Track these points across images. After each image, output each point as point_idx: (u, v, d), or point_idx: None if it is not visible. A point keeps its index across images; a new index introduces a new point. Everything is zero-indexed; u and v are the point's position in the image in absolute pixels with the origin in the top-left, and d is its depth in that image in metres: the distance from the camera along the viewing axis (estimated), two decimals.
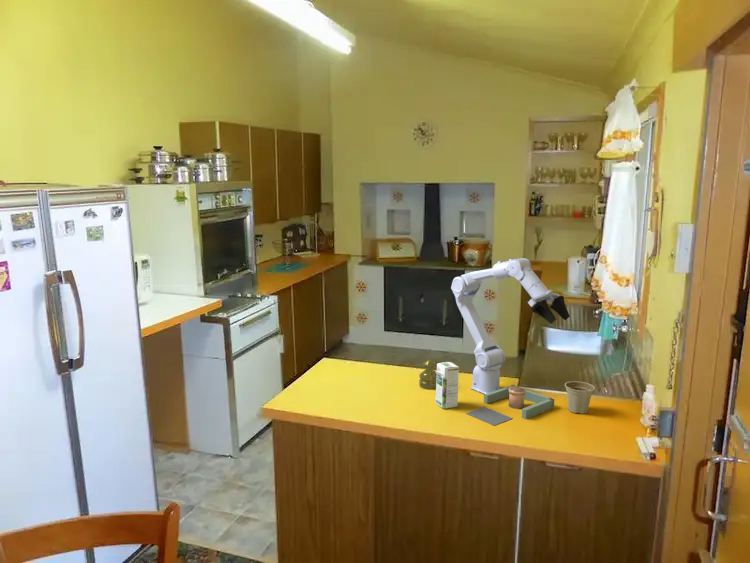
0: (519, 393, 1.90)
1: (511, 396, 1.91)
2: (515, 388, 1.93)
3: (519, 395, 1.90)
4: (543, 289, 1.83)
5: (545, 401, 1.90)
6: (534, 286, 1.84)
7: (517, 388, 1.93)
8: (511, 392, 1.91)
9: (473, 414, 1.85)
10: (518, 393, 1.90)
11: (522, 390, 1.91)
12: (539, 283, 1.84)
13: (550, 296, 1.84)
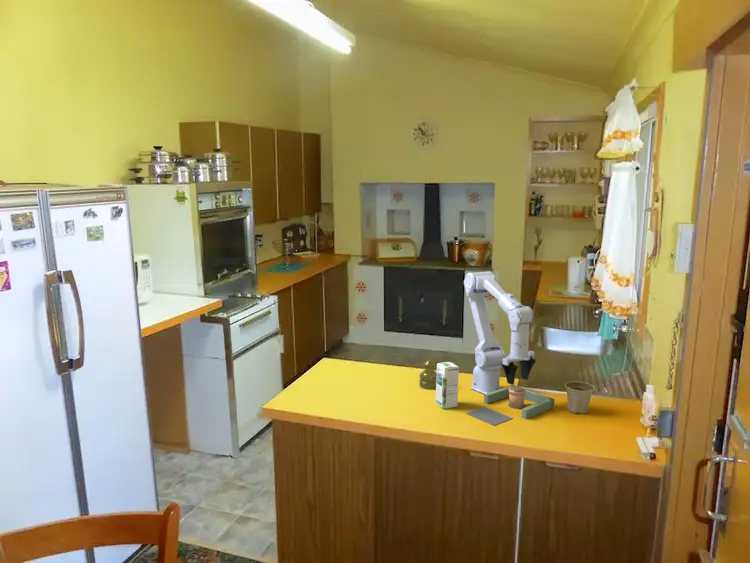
0: (519, 393, 1.90)
1: (511, 396, 1.91)
2: (515, 388, 1.93)
3: (519, 395, 1.90)
4: (524, 353, 1.87)
5: (545, 401, 1.90)
6: (518, 346, 1.87)
7: (517, 388, 1.93)
8: (511, 392, 1.91)
9: (473, 414, 1.85)
10: (518, 393, 1.90)
11: (522, 390, 1.91)
12: (524, 346, 1.87)
13: None
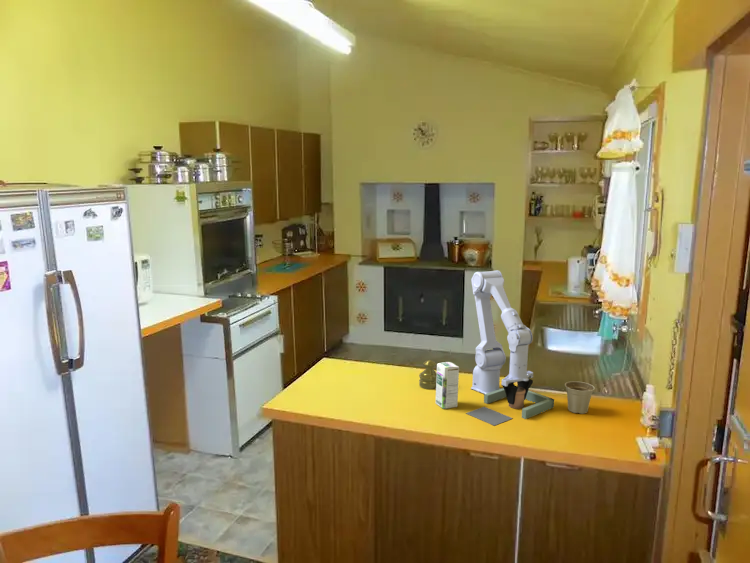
0: (519, 393, 1.90)
1: None
2: None
3: (519, 395, 1.90)
4: (522, 373, 1.89)
5: (545, 401, 1.90)
6: (517, 367, 1.88)
7: None
8: None
9: (473, 414, 1.85)
10: (518, 393, 1.90)
11: (522, 390, 1.91)
12: (523, 366, 1.88)
13: None
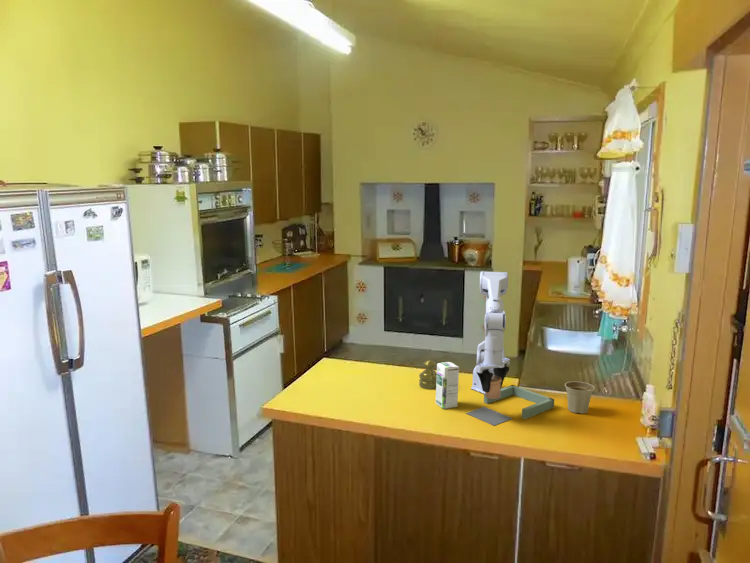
0: (494, 382, 1.80)
1: None
2: None
3: (495, 385, 1.81)
4: (498, 360, 1.79)
5: (545, 401, 1.90)
6: (492, 353, 1.79)
7: (493, 377, 1.83)
8: None
9: (473, 414, 1.85)
10: (493, 382, 1.80)
11: (498, 379, 1.82)
12: (499, 352, 1.79)
13: None
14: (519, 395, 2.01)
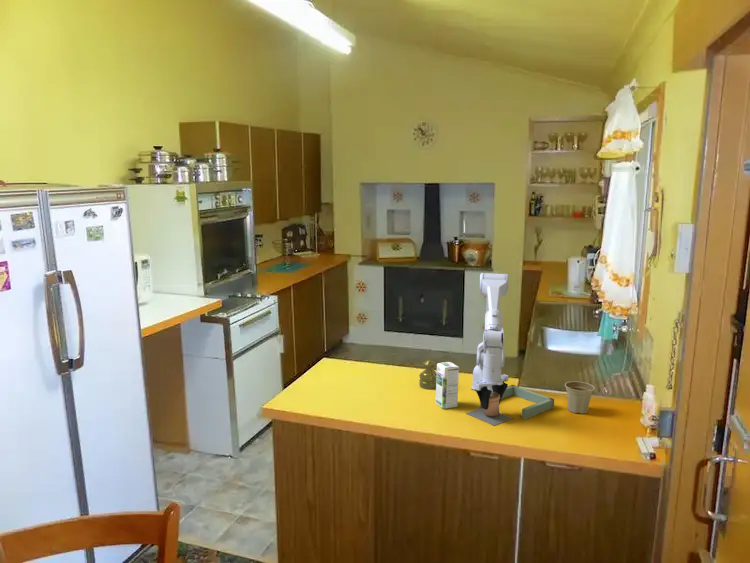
0: (493, 400, 1.81)
1: None
2: None
3: (493, 402, 1.81)
4: (496, 377, 1.80)
5: (545, 401, 1.90)
6: (491, 370, 1.80)
7: (491, 394, 1.84)
8: None
9: (473, 414, 1.85)
10: (491, 399, 1.81)
11: (496, 396, 1.82)
12: (497, 370, 1.80)
13: None
14: (519, 395, 2.01)
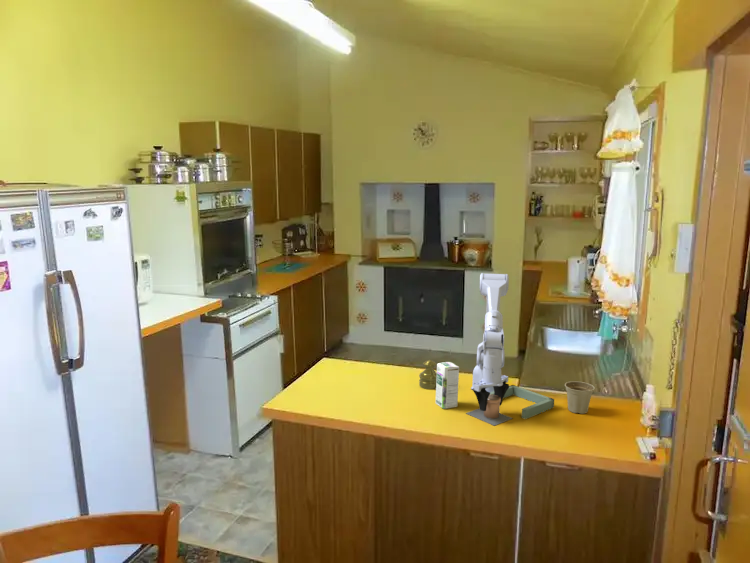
0: (494, 402, 1.81)
1: None
2: (490, 396, 1.85)
3: (494, 404, 1.82)
4: (496, 378, 1.80)
5: (545, 401, 1.90)
6: (491, 371, 1.80)
7: (492, 396, 1.85)
8: None
9: (473, 414, 1.85)
10: (492, 401, 1.81)
11: (497, 399, 1.83)
12: (497, 371, 1.80)
13: None
14: (519, 395, 2.01)
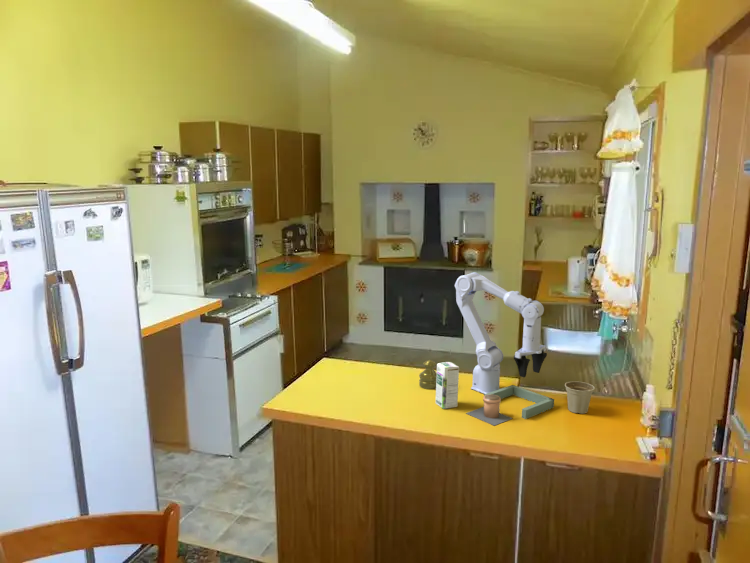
0: (494, 402, 1.81)
1: (486, 405, 1.83)
2: (490, 396, 1.85)
3: (494, 404, 1.82)
4: (536, 346, 1.93)
5: (545, 401, 1.90)
6: (530, 340, 1.92)
7: (492, 396, 1.85)
8: (485, 401, 1.83)
9: (473, 414, 1.85)
10: (492, 401, 1.81)
11: (497, 399, 1.83)
12: (536, 339, 1.92)
13: None
14: (519, 395, 2.01)
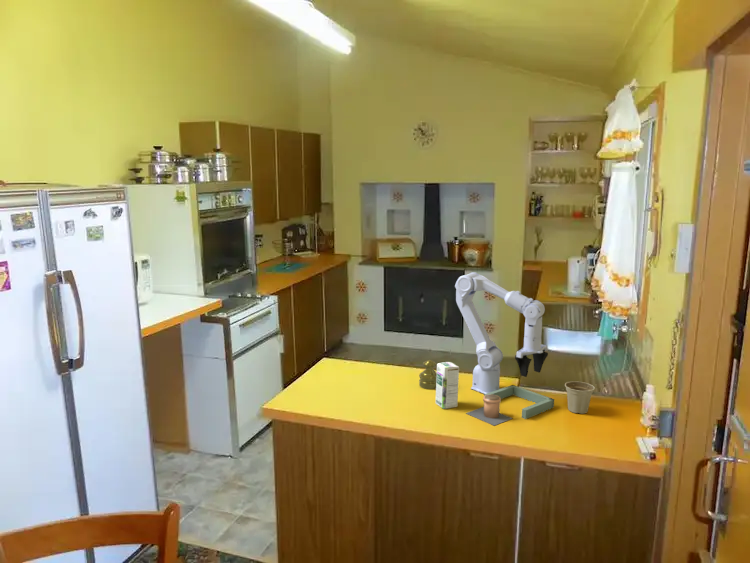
0: (494, 402, 1.81)
1: (486, 405, 1.83)
2: (490, 396, 1.85)
3: (494, 404, 1.82)
4: (537, 346, 1.93)
5: (545, 401, 1.90)
6: (532, 339, 1.93)
7: (492, 396, 1.85)
8: (485, 401, 1.83)
9: (473, 414, 1.85)
10: (492, 401, 1.81)
11: (497, 399, 1.83)
12: (538, 339, 1.93)
13: None
14: (519, 395, 2.01)
